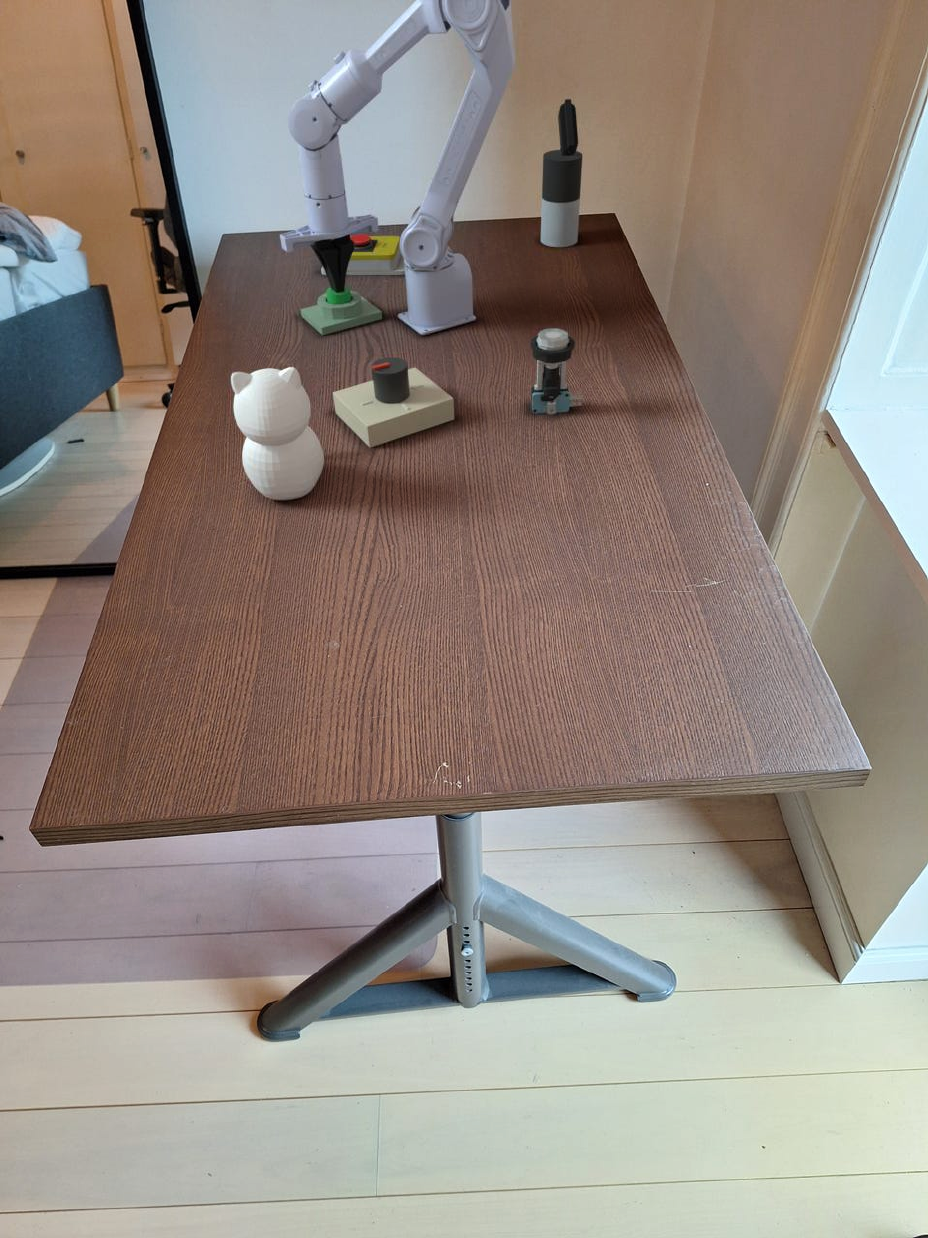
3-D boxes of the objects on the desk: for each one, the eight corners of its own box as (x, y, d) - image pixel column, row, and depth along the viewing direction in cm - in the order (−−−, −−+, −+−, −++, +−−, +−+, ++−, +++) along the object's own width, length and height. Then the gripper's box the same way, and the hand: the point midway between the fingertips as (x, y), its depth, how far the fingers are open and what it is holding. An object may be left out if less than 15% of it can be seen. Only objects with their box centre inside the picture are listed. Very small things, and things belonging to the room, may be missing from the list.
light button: (345, 294, 131) (343, 283, 130) (355, 302, 129) (354, 290, 127) (323, 300, 130) (322, 288, 128) (333, 308, 127) (332, 296, 126)
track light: (540, 259, 154) (555, 202, 134) (533, 167, 154) (547, 97, 134) (576, 257, 154) (596, 200, 134) (569, 165, 155) (588, 94, 135)
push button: (578, 397, 111) (583, 323, 104) (583, 418, 107) (589, 343, 100) (527, 399, 111) (528, 325, 104) (530, 420, 107) (532, 345, 100)
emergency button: (327, 228, 147) (413, 227, 146) (330, 254, 150) (414, 253, 149) (316, 248, 141) (406, 247, 139) (320, 274, 144) (408, 274, 142)
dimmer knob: (401, 383, 109) (398, 351, 106) (415, 398, 106) (412, 365, 103) (369, 391, 107) (365, 359, 105) (382, 406, 105) (379, 374, 102)
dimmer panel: (416, 387, 114) (415, 365, 112) (454, 419, 108) (453, 396, 106) (335, 413, 110) (332, 391, 108) (369, 448, 103) (367, 425, 101)
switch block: (359, 301, 135) (357, 282, 133) (382, 318, 130) (380, 299, 128) (301, 316, 132) (298, 297, 130) (322, 335, 127) (319, 315, 125)
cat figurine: (247, 515, 94) (216, 392, 84) (252, 455, 103) (225, 337, 93) (328, 507, 95) (307, 384, 84) (326, 447, 104) (307, 330, 93)
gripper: (359, 176, 124) (369, 270, 133) (265, 195, 119) (282, 291, 128) (381, 188, 119) (389, 285, 129) (284, 209, 114) (301, 308, 123)
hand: (337, 289), depth 128 cm, fingers closed
